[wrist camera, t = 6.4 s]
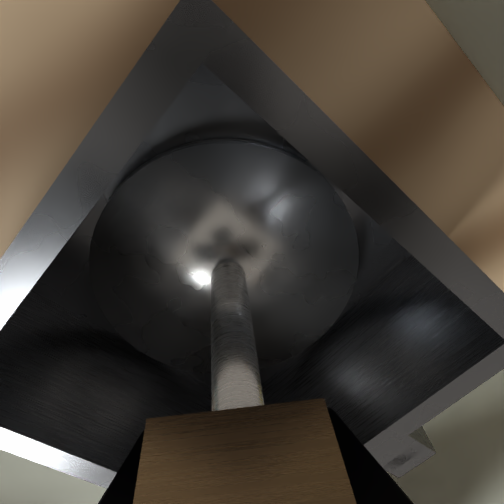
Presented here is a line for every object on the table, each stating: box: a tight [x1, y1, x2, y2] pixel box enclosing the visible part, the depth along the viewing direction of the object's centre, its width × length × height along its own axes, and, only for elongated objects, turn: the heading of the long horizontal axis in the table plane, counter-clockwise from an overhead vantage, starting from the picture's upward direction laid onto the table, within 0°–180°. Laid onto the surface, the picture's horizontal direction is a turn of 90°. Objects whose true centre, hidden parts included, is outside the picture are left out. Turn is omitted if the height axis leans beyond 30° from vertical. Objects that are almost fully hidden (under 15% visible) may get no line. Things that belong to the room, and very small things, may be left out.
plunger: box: [89, 138, 359, 504], centre depth 10 cm, size 9×9×10 cm
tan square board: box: [0, 0, 504, 292], centre depth 15 cm, size 20×20×1 cm
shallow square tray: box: [0, 0, 504, 488], centre depth 13 cm, size 14×12×6 cm
